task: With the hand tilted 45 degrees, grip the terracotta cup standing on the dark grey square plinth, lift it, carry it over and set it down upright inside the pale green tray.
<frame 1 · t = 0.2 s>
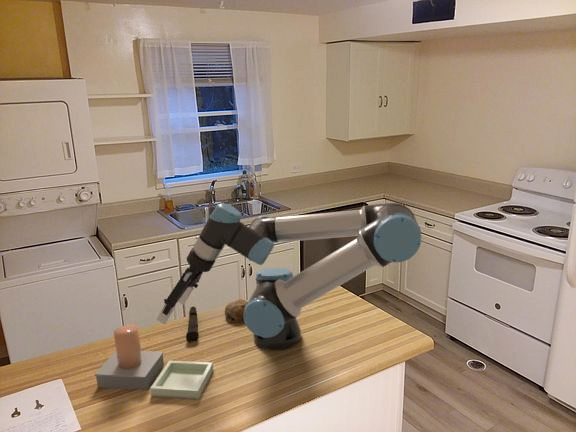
hand: (171, 311, 135), 15 cm above the worktop, tool tilted 35°, fingers open, 13 cm apart
tray: (183, 382, 126), on the worktop
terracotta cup: (130, 362, 129), point 4 cm above the worktop, touching grey square plinth
grey square plinth: (132, 375, 130), on the worktop
hand tool: (192, 329, 156), on the worktop
bread roll: (239, 316, 164), on the worktop
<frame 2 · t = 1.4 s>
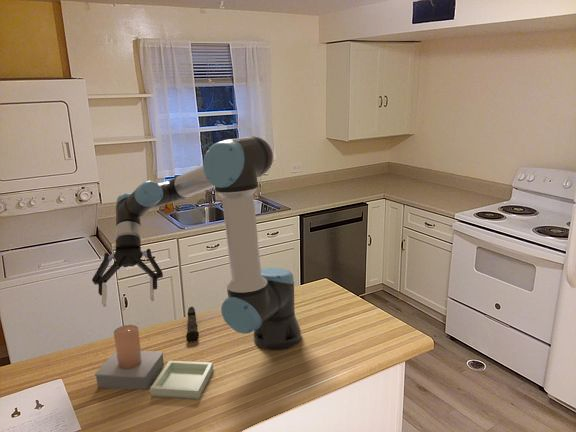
hand: (128, 302, 136), 18 cm above the worktop, tool tilted 45°, fingers open, 13 cm apart
nothing on the worktop moved.
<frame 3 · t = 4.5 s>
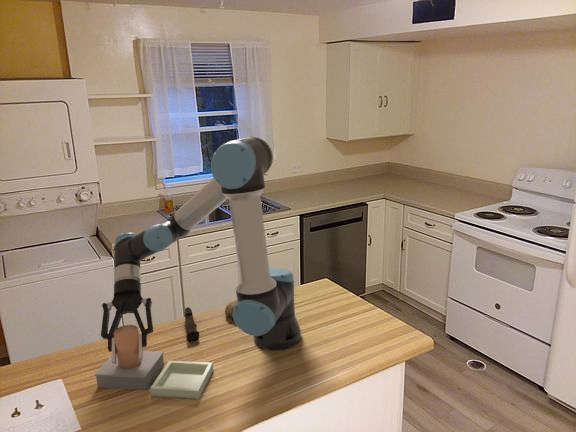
hand: (127, 360, 125), 7 cm above the worktop, tool tilted 45°, fingers closed on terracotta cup, 6 cm apart
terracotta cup: (130, 362, 129), point 4 cm above the worktop, touching gripper, grey square plinth
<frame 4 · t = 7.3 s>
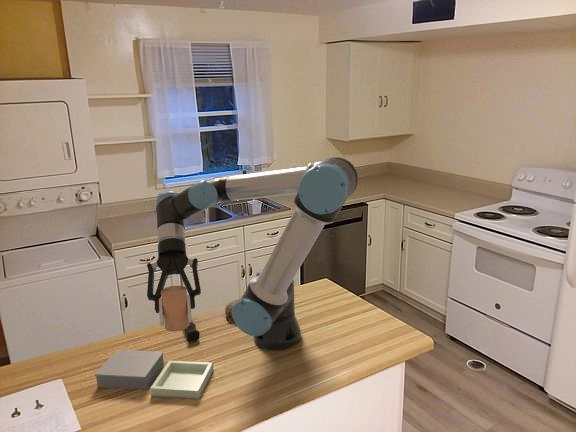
hand: (176, 322, 118), 20 cm above the worktop, tool tilted 45°, fingers closed on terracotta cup, 6 cm apart
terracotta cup: (177, 325, 122), point 17 cm above the worktop, touching gripper
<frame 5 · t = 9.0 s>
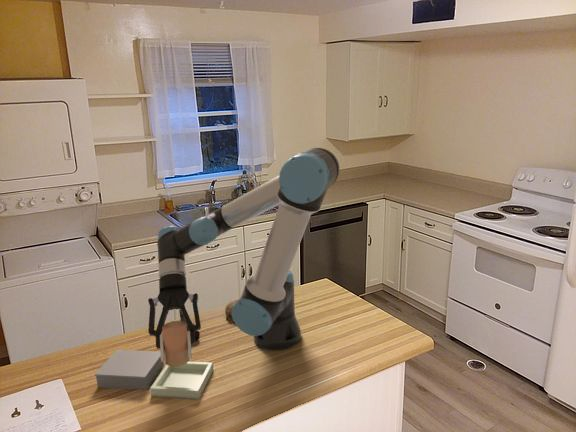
hand: (176, 358, 121), 10 cm above the worktop, tool tilted 45°, fingers closed on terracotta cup, 6 cm apart
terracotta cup: (177, 360, 125), point 7 cm above the worktop, touching gripper
when the fingers open (5 cm above the worktop, at t = 10.4 s): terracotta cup drops 2 cm, resting on tray.
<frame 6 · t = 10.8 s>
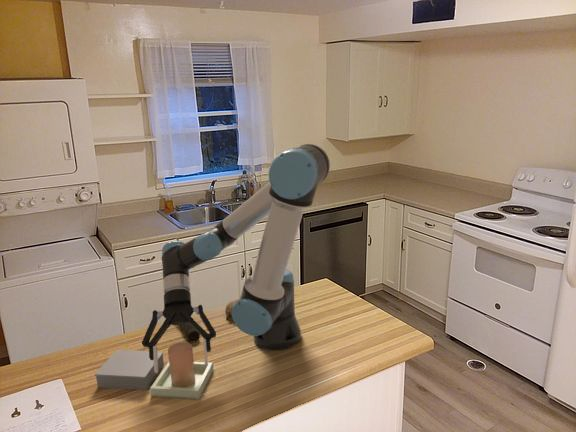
hand: (181, 368, 122), 6 cm above the worktop, tool tilted 45°, fingers open, 12 cm apart
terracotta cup: (183, 381, 126), point 1 cm above the worktop, touching tray
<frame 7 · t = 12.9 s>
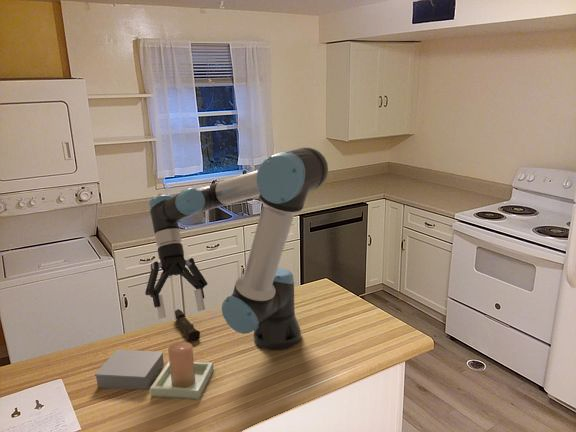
hand: (182, 314, 136), 14 cm above the worktop, tool tilted 30°, fingers open, 13 cm apart
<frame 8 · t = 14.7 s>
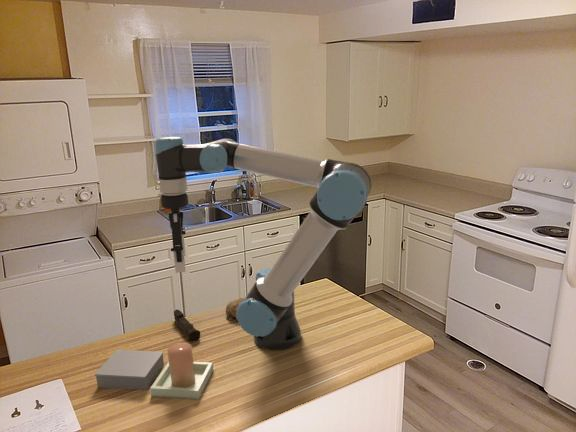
hand: (180, 263, 135), 29 cm above the worktop, tool pointing down, fingers open, 13 cm apart
at the end: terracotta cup inside the target area on the tray (0.1 cm from its centre), point 0.6 cm above the tray's base; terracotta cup tilted 1°; the gripper is holding nothing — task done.
